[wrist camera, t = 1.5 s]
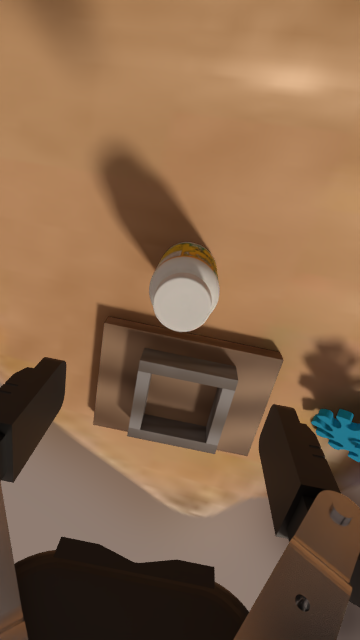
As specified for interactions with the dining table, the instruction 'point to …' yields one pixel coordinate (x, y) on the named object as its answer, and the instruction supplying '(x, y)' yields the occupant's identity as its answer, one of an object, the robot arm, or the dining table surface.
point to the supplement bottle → (184, 287)
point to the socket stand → (182, 387)
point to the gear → (339, 431)
